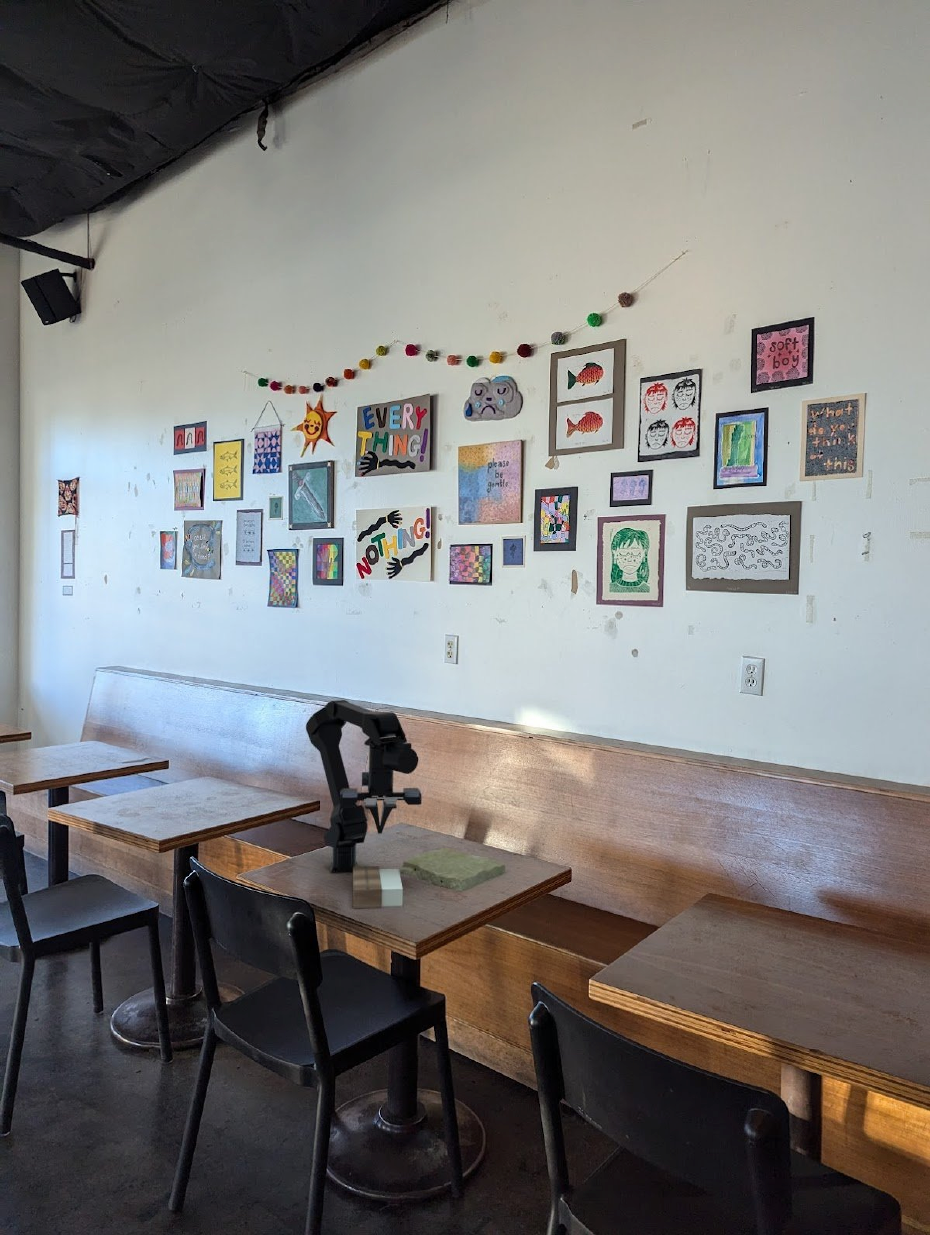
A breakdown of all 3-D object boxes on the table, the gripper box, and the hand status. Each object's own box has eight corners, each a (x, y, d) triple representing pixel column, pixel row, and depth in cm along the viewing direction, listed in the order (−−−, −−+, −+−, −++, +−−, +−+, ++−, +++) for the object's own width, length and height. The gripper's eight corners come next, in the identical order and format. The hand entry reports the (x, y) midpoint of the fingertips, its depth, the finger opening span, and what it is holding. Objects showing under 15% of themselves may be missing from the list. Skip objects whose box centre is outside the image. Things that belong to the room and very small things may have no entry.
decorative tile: (443, 858, 223) (443, 845, 223) (506, 875, 211) (506, 860, 211) (394, 875, 208) (395, 861, 208) (460, 894, 196) (460, 878, 196)
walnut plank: (352, 883, 200) (353, 865, 200) (378, 882, 201) (378, 865, 201) (353, 908, 184) (353, 889, 184) (381, 907, 185) (381, 888, 185)
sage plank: (402, 907, 186) (402, 889, 186) (381, 907, 186) (382, 889, 186) (398, 885, 200) (398, 868, 200) (378, 886, 200) (379, 869, 200)
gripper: (418, 760, 209) (416, 823, 209) (340, 760, 206) (339, 824, 206) (422, 769, 198) (420, 836, 198) (340, 769, 195) (339, 837, 195)
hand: (379, 833), depth 200 cm, fingers closed
